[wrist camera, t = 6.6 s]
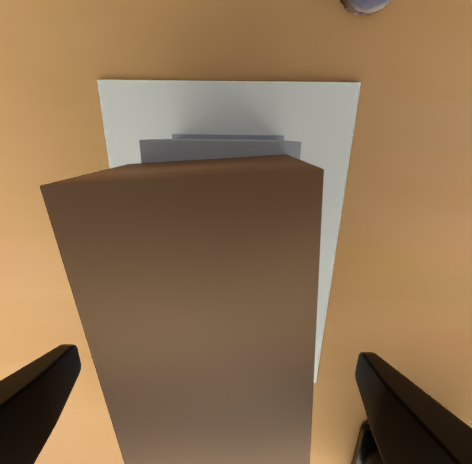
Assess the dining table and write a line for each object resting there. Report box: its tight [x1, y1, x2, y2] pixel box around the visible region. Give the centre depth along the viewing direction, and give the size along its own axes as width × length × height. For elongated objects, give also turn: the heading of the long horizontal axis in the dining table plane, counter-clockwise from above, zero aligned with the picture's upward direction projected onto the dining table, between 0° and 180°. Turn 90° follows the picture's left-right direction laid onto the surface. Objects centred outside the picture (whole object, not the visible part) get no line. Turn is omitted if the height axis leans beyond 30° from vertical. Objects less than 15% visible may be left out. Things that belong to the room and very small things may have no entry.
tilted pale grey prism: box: [139, 138, 301, 163], centre depth 11 cm, size 5×5×5 cm
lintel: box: [40, 154, 324, 464], centre depth 9 cm, size 12×5×4 cm, turn 3°
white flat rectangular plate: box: [97, 80, 361, 383], centre depth 15 cm, size 18×12×1 cm, turn 179°
